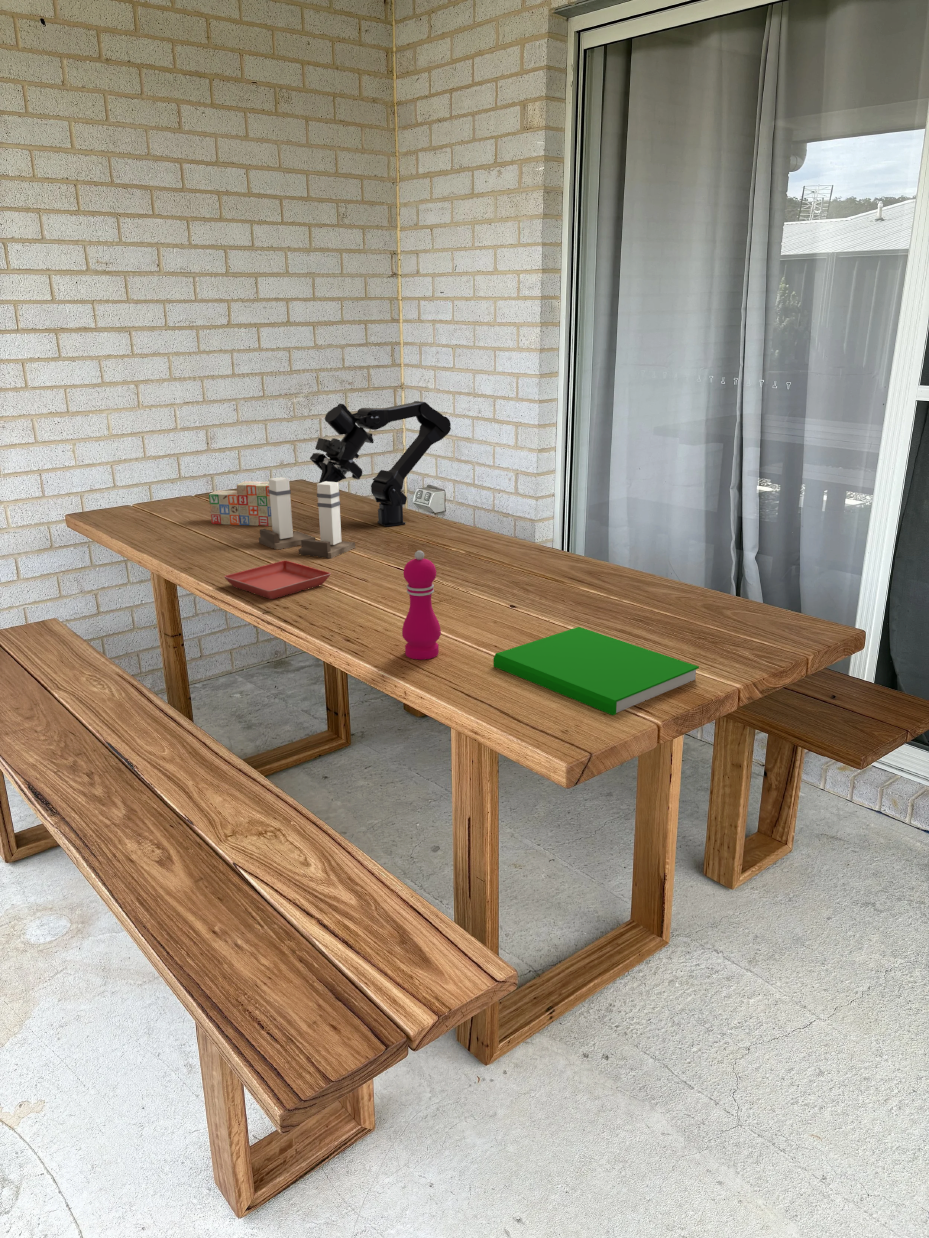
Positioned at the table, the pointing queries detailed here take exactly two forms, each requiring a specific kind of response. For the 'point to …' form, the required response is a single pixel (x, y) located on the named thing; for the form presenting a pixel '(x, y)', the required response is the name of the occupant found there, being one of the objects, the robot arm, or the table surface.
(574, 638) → the book
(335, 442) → the robot arm
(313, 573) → the plant saucer
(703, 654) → the table surface
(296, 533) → the base
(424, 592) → the pepper mill
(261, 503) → the stack of blocks
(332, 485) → the post
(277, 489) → the post
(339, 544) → the base
